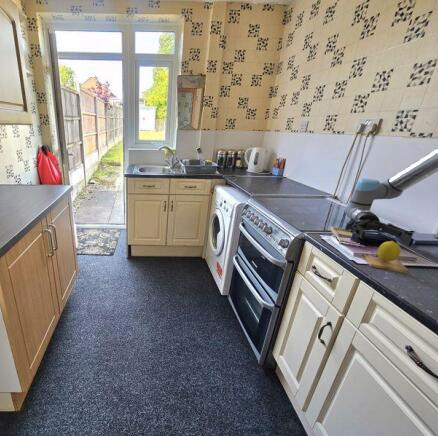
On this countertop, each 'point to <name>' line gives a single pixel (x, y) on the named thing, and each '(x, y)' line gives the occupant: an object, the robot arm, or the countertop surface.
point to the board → (386, 264)
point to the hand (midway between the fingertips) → (386, 239)
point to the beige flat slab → (342, 234)
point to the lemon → (389, 251)
